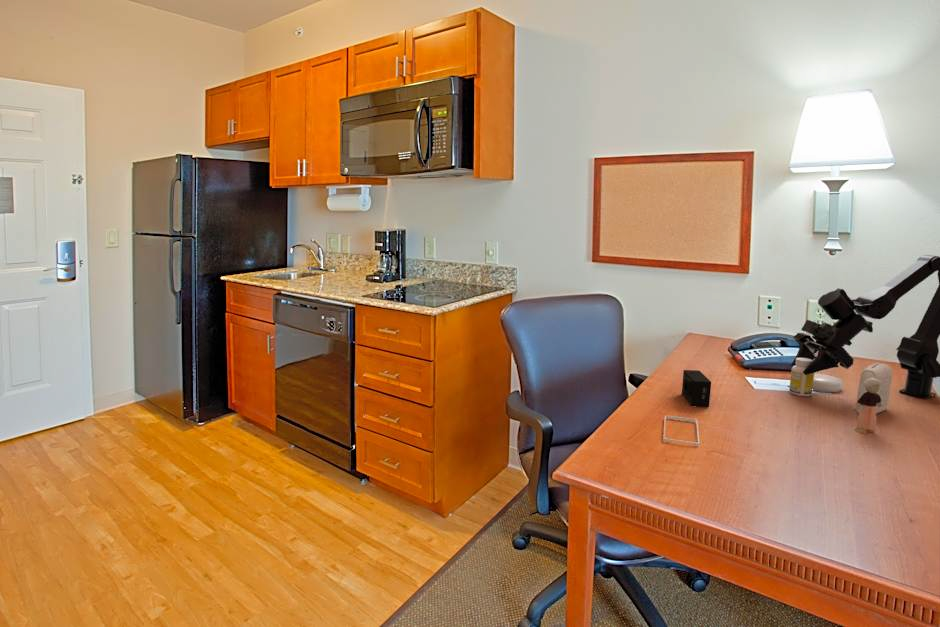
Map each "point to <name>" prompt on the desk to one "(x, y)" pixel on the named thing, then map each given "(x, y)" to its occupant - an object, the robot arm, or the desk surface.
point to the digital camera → (696, 388)
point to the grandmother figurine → (868, 406)
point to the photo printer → (883, 375)
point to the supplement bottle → (801, 378)
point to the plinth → (826, 383)
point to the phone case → (681, 420)
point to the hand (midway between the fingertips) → (797, 370)
